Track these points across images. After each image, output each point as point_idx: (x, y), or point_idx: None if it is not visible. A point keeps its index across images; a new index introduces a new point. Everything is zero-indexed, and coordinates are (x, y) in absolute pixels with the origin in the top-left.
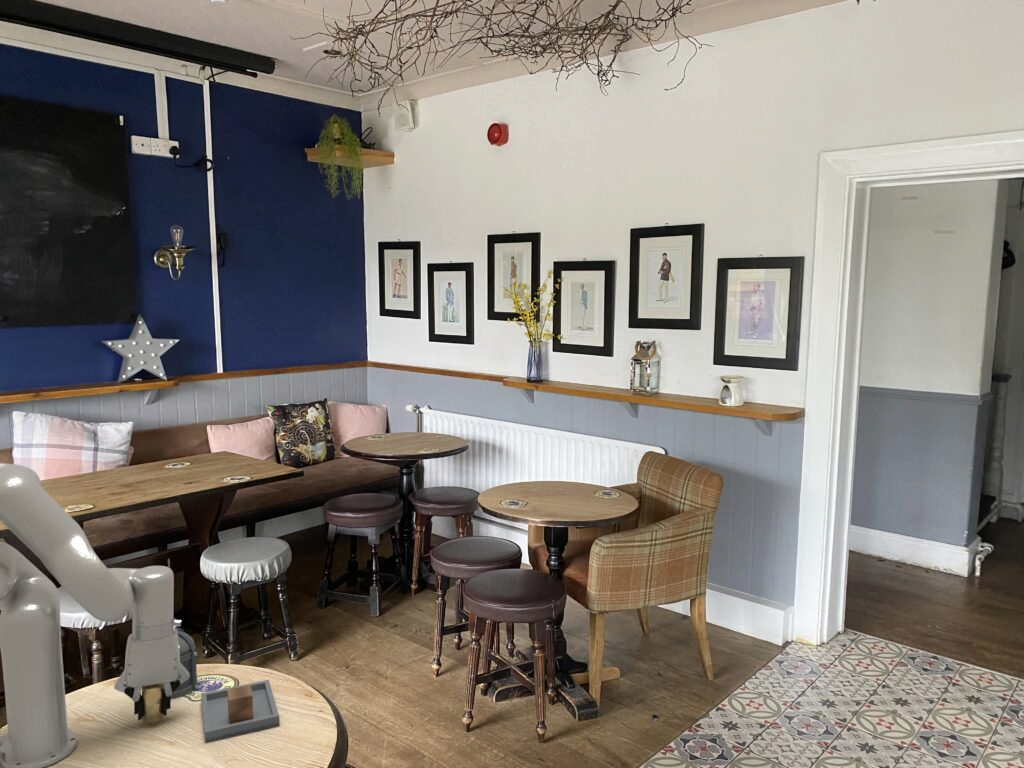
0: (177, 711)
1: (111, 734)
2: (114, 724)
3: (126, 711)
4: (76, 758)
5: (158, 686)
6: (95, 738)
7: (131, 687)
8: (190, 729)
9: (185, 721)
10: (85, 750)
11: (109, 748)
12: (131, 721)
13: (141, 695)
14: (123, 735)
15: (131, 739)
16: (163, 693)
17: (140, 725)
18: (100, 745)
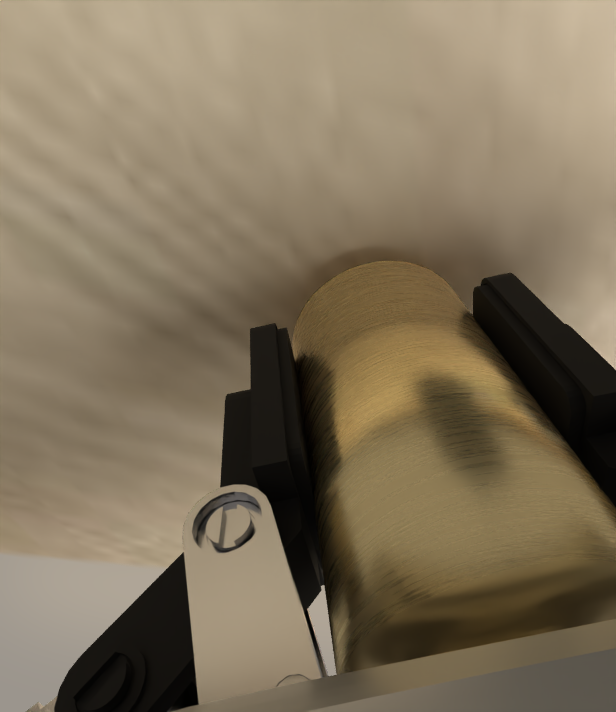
0: (571, 163)
1: (102, 390)
2: (48, 265)
3: (36, 16)
4: (24, 549)
5: None
6: (9, 414)
7: (170, 701)
8: None
9: (603, 334)
10: (28, 505)
11: (164, 507)
12: (182, 248)
13: (296, 474)
14: (195, 414)
15: None
16: (571, 445)
17: (279, 321)
18: (93, 479)
